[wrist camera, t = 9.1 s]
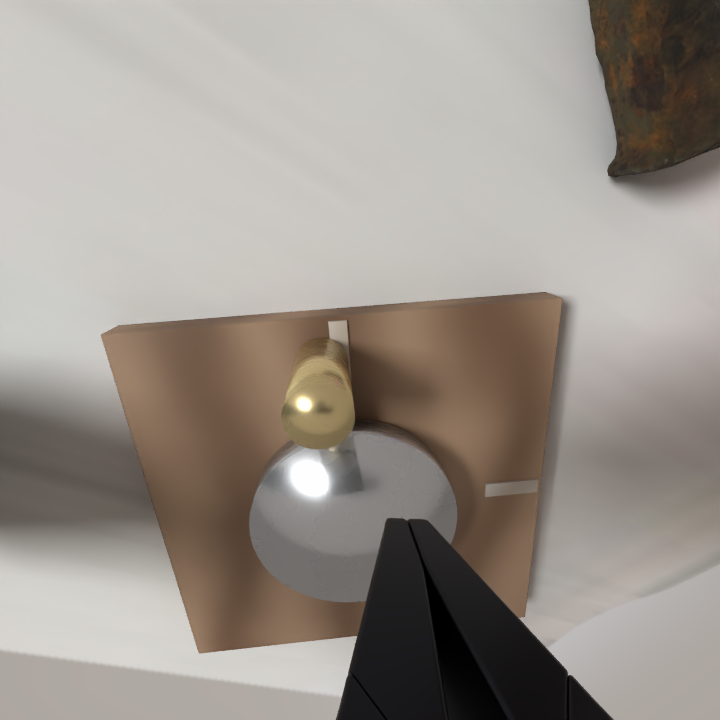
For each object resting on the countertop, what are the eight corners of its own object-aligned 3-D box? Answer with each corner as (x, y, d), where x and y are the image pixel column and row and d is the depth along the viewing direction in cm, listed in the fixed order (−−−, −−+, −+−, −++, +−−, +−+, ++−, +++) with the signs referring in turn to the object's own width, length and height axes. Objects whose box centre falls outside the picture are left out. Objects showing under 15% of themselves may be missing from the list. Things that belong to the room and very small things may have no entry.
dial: (456, 559, 22) (489, 651, 18) (281, 592, 22) (268, 693, 18) (429, 317, 17) (465, 356, 12) (203, 359, 17) (154, 413, 12)
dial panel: (206, 628, 25) (198, 654, 24) (118, 325, 18) (99, 335, 17) (514, 595, 26) (525, 618, 24) (545, 292, 19) (563, 298, 17)
